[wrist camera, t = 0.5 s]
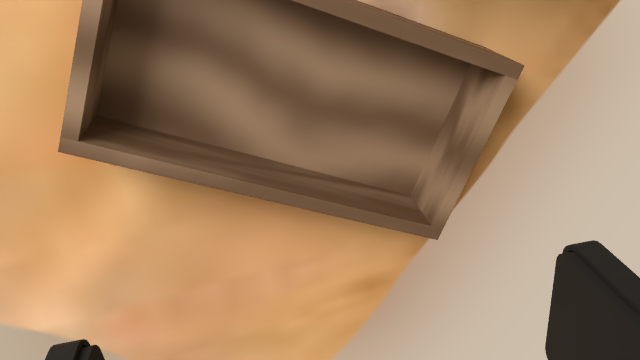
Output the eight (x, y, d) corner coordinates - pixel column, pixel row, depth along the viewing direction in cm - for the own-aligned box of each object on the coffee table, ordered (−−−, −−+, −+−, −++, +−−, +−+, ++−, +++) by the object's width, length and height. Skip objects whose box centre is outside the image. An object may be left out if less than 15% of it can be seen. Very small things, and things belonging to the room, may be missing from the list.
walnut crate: (118, -87, 32) (97, -90, 27) (484, 47, 40) (524, 65, 34) (82, 119, 37) (58, 151, 32) (412, 202, 45) (437, 239, 39)
